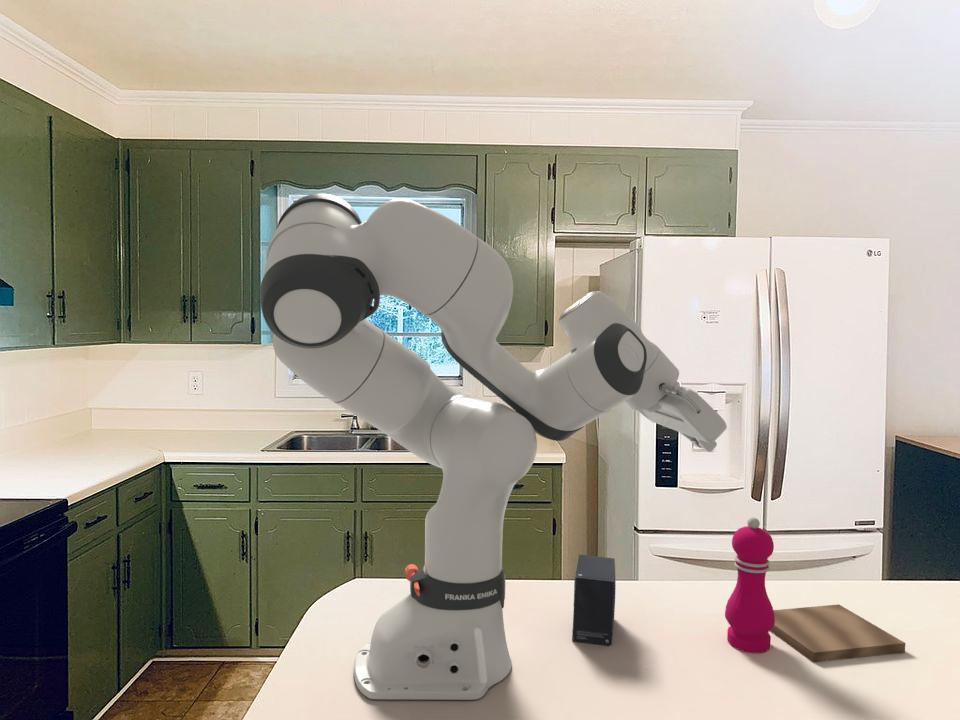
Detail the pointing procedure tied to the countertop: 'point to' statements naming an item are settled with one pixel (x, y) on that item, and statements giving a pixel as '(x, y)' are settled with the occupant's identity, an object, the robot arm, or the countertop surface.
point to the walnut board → (832, 634)
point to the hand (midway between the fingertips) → (707, 446)
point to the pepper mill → (750, 591)
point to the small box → (594, 600)
